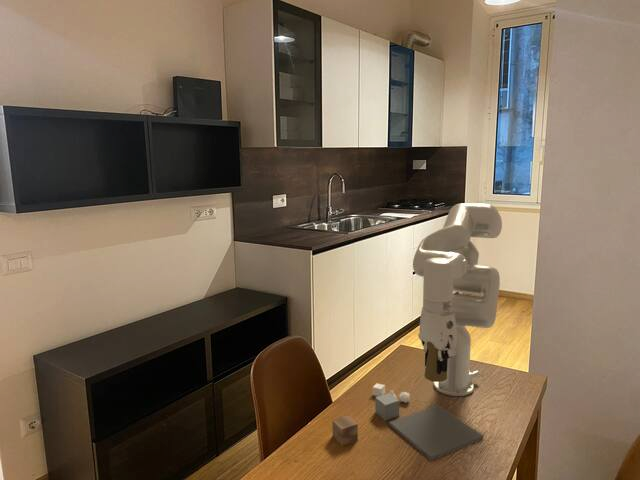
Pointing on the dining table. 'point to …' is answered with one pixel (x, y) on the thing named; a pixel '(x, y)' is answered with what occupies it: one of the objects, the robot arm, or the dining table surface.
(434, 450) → the mat
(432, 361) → the olive lobed rounded piece
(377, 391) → the game pieces
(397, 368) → the dining table surface
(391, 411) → the slate-grey block
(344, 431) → the walnut block
